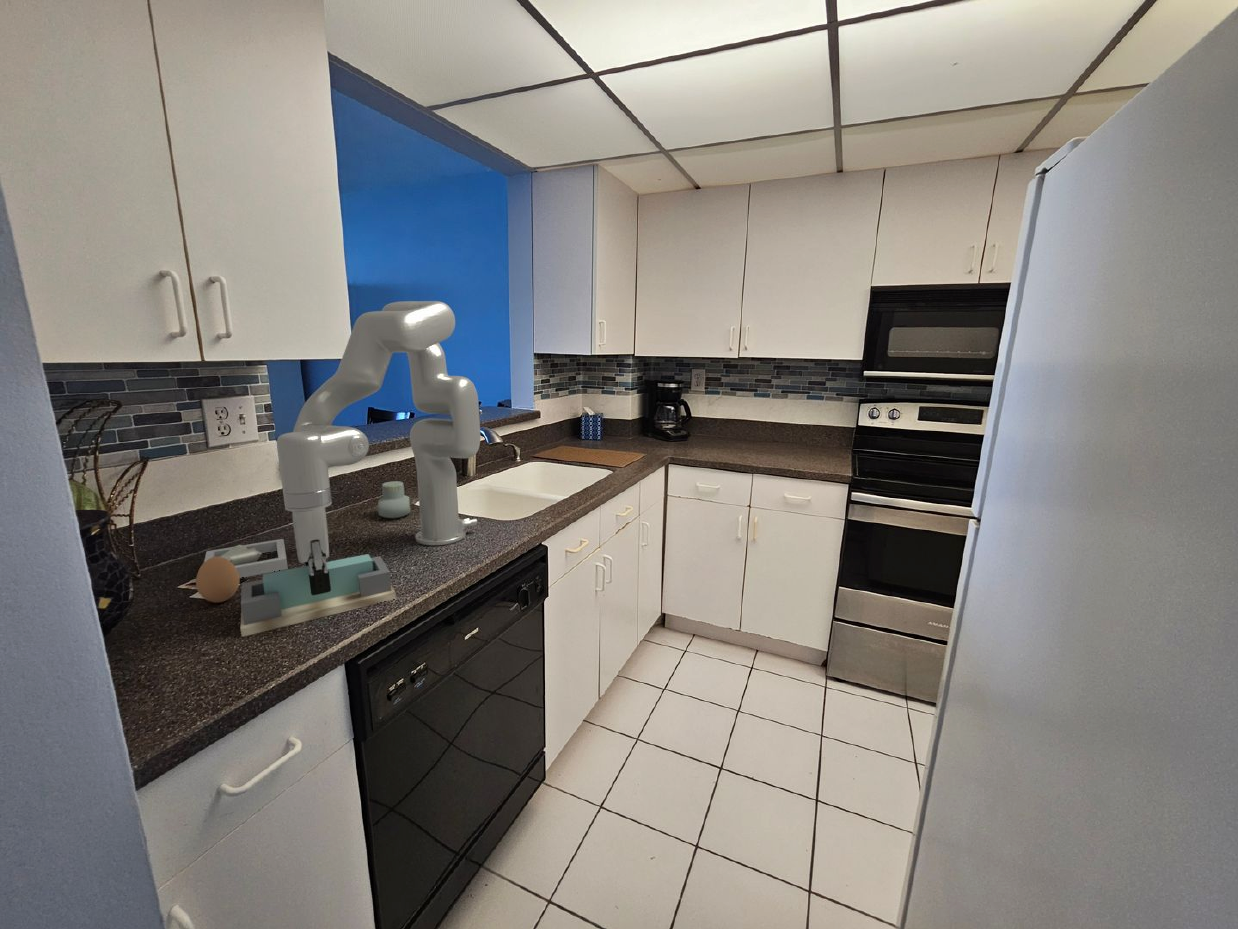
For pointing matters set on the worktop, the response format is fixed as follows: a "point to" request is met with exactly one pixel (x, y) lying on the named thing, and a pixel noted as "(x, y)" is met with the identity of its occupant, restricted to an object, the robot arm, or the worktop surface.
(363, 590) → the grey slat holder
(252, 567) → the parts tray
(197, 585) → the egg
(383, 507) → the air freshener
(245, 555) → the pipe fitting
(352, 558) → the slat
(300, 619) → the base board
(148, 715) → the worktop surface
